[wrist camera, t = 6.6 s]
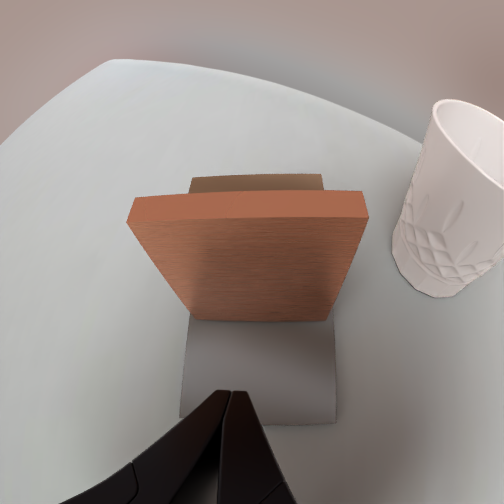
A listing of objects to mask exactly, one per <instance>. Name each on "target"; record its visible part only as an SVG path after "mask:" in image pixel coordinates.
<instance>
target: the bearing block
mask: <svg viewBox="0 0 504 504" xmlns="http://www.w3.org/2000/svg"><path fill="white" fill-rule="evenodd" d="M268 190H324V188H323V182H322V176H321V174H255V175H229V176H210V177H195V178H192V181H191V185H190V189H189V193H188V194H191V193H209V192H232V191H268ZM218 389H220V390H230V391H231V392H232V391H234V390H240V391H247V392H248V394H249V396H250V399H251V401H252V404H253V406H254V409H255V411H256V413H257V416H258V418H259V421H260V423H261V425H311V424H329V423H336V360H335V338H334V320H333V306H332V308H331V311H330V313H329V315H328V317H327V319H326V321H221V320H196V319H195V318H194V317H193V315H192V314H191V313H190V319H189V327H188V335H187V343H186V352H185V361H184V370H183V380H182V391H181V402H180V414H179V418H185V417H186V416H187V415H188V414H189V413H190V412H192V411H193V410H194V409H195V408H196V407H197V406H198V405H199V404H201V403H202V402H203V401H204V400H205V399H206V398H207V397H208V396H209V395H210V394H212V393H213V392H214V391H215V390H218Z"/></svg>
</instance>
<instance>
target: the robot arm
mask: <svg viewBox="0 0 504 504" xmlns="http://www.w3.org/2000/svg"><path fill="white" fill-rule="evenodd" d="M60 504H297V502H296V500H295V498H294V497H293V495H292V493H291V491H290V489H289V486H288V484H287V482H285V478H284V476H283V474H282V472H281V469H280V467H279V465H278V463H277V460H276V458H275V456H274V454H273V451H272V449H271V447H270V444H269V442H268V440H267V437H266V435H265V433H264V430H263V428H262V426H261V423H260V421H259V418H258V416H257V413H256V411H255V409H254V406H253V404H252V401H251V399H250V396H249V394H248V392H247V391H240V390H234V391H232V392H231V391H230V390H220V389H218V390H215V391H214V392H213V393H212V394H210V395H209V396H208V397H207V398H206V399H205V400H204V401H203V402H202V403H201V404H199V405H198V406H197V407H196V408H195V409H194V410H193V411H192V412H190V413H189V414H188V415H187V416H186V417H185V418H184V419H182V420H181V421H180V422H179V423H178V424H177V425H175V426H174V427H173V428H172V429H171V430H169V431H168V432H167V433H166V434H165V435H163V436H162V437H161V438H160V439H159V440H157V441H156V442H155V443H154V444H152V445H151V446H150V447H149V448H148V449H146V450H145V451H144V452H142V453H141V454H140V455H139V456H137V457H136V458H135V459H134V460H132V462H129V463H128V464H127V465H126V466H124V467H123V468H122V469H120V470H119V471H117V472H116V473H114V474H113V475H112V476H110V477H109V478H107V479H106V480H104V481H102V482H101V483H99V484H97V485H95V486H94V487H92V488H90V489H88V490H86V491H84V492H82V493H81V494H78V495H76V496H74V497H72V498H70V499H68V500H66V501H64V502H62V503H60Z"/></svg>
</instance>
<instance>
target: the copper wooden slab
mask: <svg viewBox="0 0 504 504" xmlns="http://www.w3.org/2000/svg"><path fill="white" fill-rule="evenodd" d="M368 219H369V216H368V212H367V208H366V204H365V200H364V196H363V193H362V191H334V190H268V191H232V192H209V193H191V194H175V195H161V196H149V197H137V198H135V200H134V202H133V205H132V208H131V210H130V213H129V216H128V219H127V222H126V223H127V224H128V226H129V227H130V229H131V230H132V232H133V233H134V235H135V236H136V238H137V239H138V241H139V242H140V244H141V245H142V247H143V248H144V250H145V251H146V253H147V254H148V256H149V257H150V258H151V260H152V261H153V263H154V264H155V266H156V267H157V268H158V270H159V271H160V273H161V274H162V275H163V277H164V278H165V279H166V281H167V282H168V284H169V285H170V286H171V288H172V289H173V290H174V292H175V293H176V294H177V296H178V297H179V298H180V300H181V301H182V302H183V304H184V305H185V306H186V308H187V309H188V310H189V311H190V313H191V314H192V315H193V317H194V318H195V319H196V320H221V321H326V319H327V317H328V315H329V313H330V311H331V308H332V306H333V304H334V302H335V300H336V297H337V295H338V293H339V291H340V288H341V286H342V284H343V282H344V279H345V277H346V275H347V272H348V270H349V267H350V265H351V263H352V260H353V258H354V255H355V253H356V250H357V248H358V245H359V243H360V240H361V237H362V235H363V232H364V230H365V227H366V224H367V222H368Z"/></svg>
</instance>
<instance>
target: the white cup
mask: <svg viewBox="0 0 504 504" xmlns="http://www.w3.org/2000/svg"><path fill="white" fill-rule="evenodd" d="M392 255H393V257H394V259H395V262H396V264H397V266H398V269H399V271H400V273H401V274H402V275H403V276H404V277H405V278H406V279H407V280H408V282H409V283H410V284H411V285H412V286H413V287H414V288H415V289H417V290H419V291H421V292H423V293H425V294H427V295H430V296H432V297H434V298H438V297H453V296H454V295H455V294H457V293H458V292H459V291H461V290H462V289H463V288H464V287H466V286H467V285H468V284H469V283H471V282H472V281H474V280H475V279H476V278H479V277H481V276H482V275H483V274H485V273H486V272H487V271H488V270H489V269H491V268H492V267H494V266H495V265H496V264H497V263H498V262H499V261H500V260H501V259H502V258H503V257H504V121H503V120H501V119H500V118H498V117H497V116H495V115H493V114H491V113H490V112H488V111H486V110H484V109H482V108H480V107H478V106H476V105H473V104H470V103H467V102H464V101H460V100H454V99H444V100H440V101H438V102H437V103H435V104H434V106H433V108H432V113H431V116H430V120H429V124H428V128H427V132H426V135H425V139H424V142H423V145H422V149H421V152H420V155H419V158H418V161H417V164H416V167H415V170H414V173H413V176H412V179H411V182H410V187H409V189H408V192H407V195H406V197H405V200H404V204H403V209H402V213H401V215H400V218H399V220H398V222H397V225H396V227H395V229H394V232H393V234H392Z"/></svg>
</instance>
